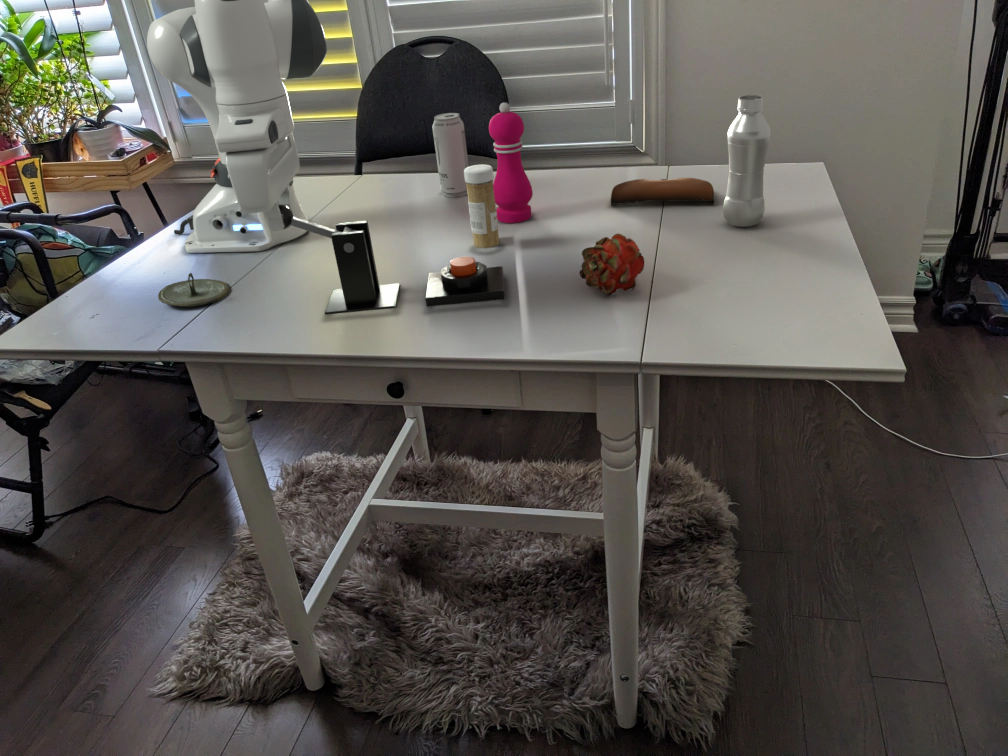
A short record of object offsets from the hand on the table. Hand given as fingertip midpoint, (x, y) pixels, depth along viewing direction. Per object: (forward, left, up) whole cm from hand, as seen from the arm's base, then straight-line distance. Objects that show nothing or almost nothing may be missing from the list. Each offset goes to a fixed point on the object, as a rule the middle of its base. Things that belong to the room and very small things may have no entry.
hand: (282, 223), depth 110 cm
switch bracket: (+9, 0, -13) cm, 16 cm away
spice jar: (+27, +18, -14) cm, 35 cm away
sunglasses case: (+59, +34, -14) cm, 69 cm away
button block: (+24, 0, -13) cm, 28 cm away
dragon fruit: (+45, -2, -14) cm, 47 cm away
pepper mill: (+32, +32, -14) cm, 47 cm away
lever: (+4, 0, -3) cm, 5 cm away
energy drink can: (+21, +50, -14) cm, 56 cm away
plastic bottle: (+69, +18, -14) cm, 73 cm away
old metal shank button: (-18, +7, -14) cm, 24 cm away
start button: (+24, 0, -10) cm, 26 cm away
